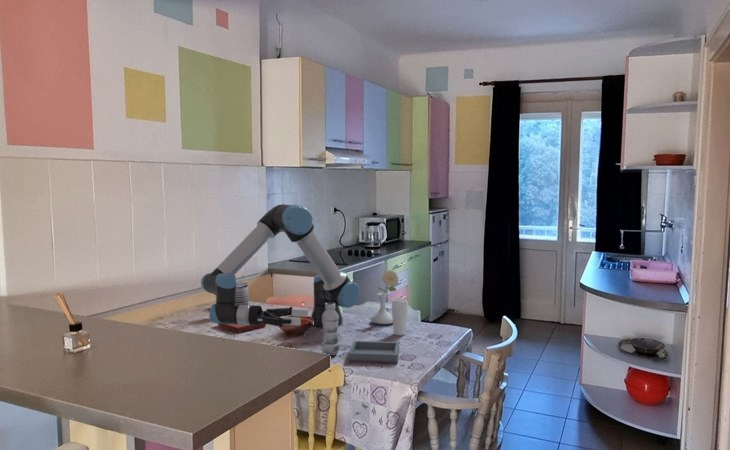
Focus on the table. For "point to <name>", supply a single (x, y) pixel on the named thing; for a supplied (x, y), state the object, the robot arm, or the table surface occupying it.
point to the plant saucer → (240, 327)
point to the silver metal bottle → (330, 330)
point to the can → (242, 293)
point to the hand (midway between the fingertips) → (304, 317)
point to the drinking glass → (399, 316)
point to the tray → (374, 352)
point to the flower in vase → (382, 315)
